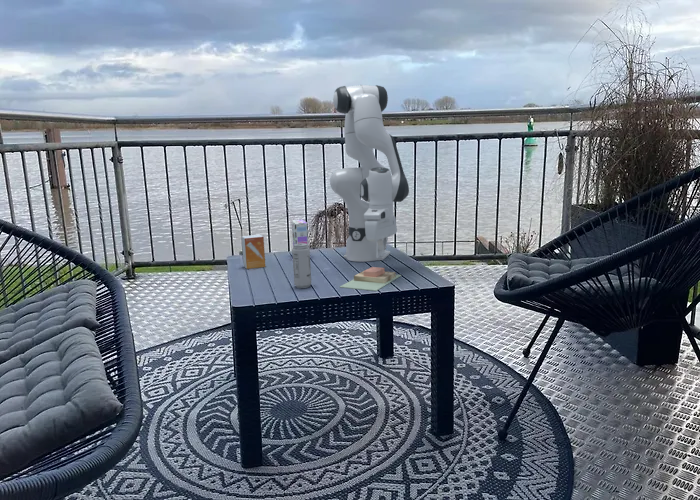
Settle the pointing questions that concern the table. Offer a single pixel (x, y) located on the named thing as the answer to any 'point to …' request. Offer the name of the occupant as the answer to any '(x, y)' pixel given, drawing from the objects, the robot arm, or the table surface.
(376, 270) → the tile
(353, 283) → the mat
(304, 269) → the energy drink can
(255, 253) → the small box
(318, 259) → the table surface
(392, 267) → the table surface
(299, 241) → the candy box
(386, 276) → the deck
